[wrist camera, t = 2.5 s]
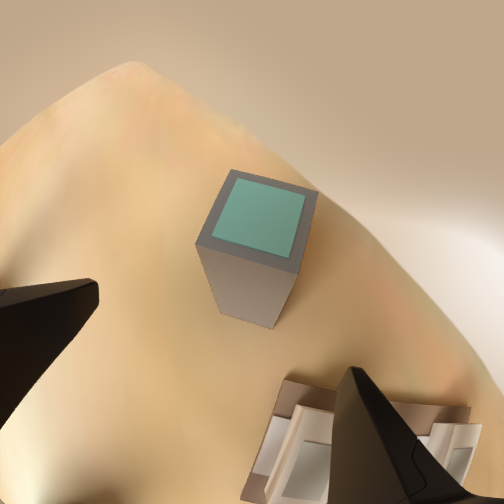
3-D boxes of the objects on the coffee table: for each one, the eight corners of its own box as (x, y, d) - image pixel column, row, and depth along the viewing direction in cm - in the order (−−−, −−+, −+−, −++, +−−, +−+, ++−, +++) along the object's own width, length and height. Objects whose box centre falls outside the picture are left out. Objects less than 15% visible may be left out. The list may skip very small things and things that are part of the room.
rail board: (465, 407, 16) (495, 405, 12) (433, 503, 12) (458, 514, 8) (283, 379, 18) (292, 379, 15) (240, 495, 14) (239, 519, 10)
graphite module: (272, 329, 20) (298, 273, 10) (220, 313, 20) (194, 242, 10) (286, 280, 22) (318, 190, 12) (237, 266, 22) (230, 167, 12)
